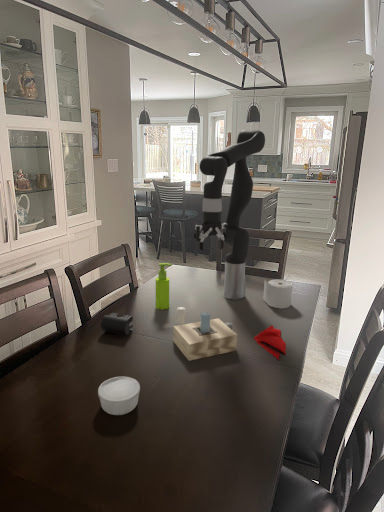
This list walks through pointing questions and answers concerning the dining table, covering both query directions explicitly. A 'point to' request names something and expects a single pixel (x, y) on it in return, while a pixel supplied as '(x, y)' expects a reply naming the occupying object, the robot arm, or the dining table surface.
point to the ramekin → (119, 395)
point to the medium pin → (180, 316)
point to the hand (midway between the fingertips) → (210, 249)
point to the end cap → (117, 324)
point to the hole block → (204, 339)
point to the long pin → (205, 323)
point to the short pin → (229, 325)
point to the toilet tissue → (278, 293)
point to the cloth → (271, 341)
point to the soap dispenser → (162, 288)
